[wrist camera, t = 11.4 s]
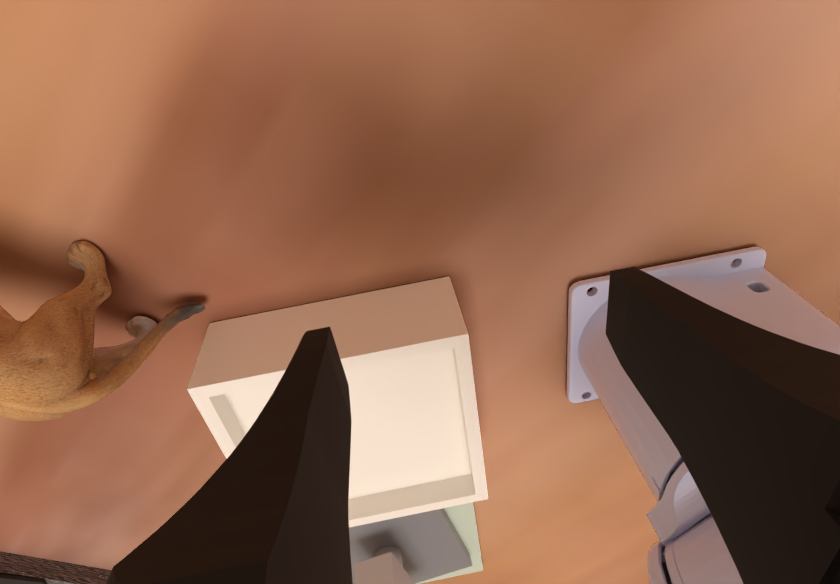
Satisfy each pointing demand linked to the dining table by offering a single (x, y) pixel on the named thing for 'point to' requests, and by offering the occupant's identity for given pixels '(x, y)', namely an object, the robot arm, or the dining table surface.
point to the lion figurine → (72, 347)
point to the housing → (365, 392)
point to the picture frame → (47, 571)
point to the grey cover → (406, 549)
